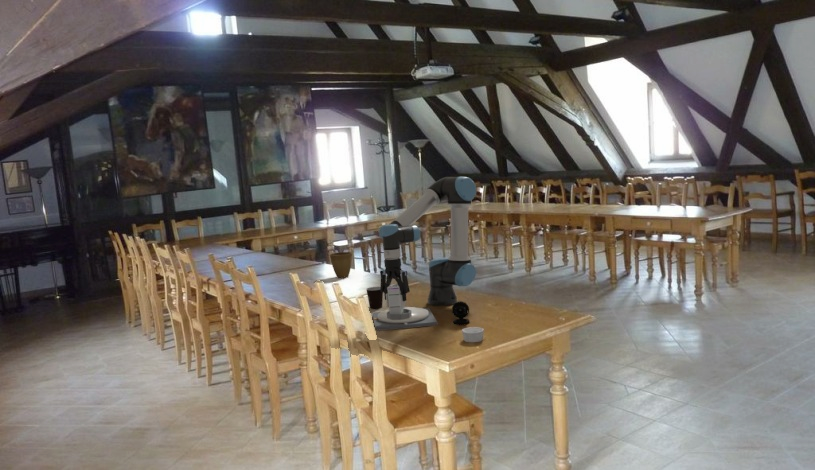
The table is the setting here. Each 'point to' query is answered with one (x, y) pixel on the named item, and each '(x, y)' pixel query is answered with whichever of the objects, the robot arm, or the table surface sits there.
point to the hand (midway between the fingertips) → (396, 307)
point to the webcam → (460, 313)
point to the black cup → (375, 297)
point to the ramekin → (473, 334)
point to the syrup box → (394, 299)
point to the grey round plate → (404, 315)
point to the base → (385, 326)
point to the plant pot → (341, 263)
